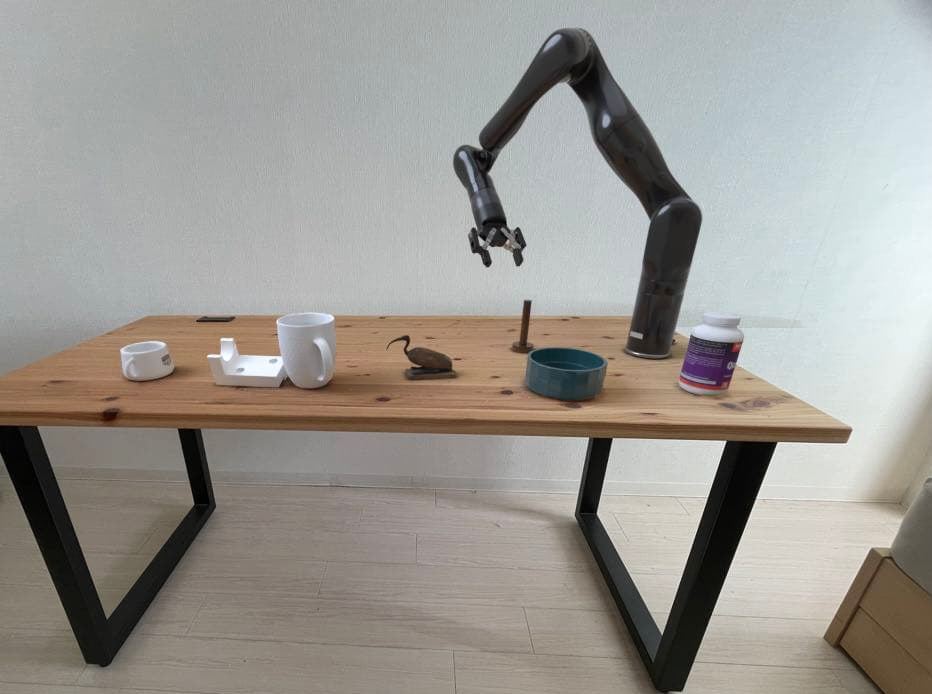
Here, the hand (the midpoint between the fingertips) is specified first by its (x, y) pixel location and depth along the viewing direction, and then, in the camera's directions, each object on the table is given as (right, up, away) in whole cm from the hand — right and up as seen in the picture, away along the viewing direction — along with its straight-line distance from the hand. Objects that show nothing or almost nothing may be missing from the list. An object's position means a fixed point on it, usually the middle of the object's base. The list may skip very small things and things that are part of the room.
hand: (504, 265), depth 112 cm
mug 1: (-80, -29, -16) cm, 86 cm away
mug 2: (-43, -31, -21) cm, 57 cm away
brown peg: (+4, -21, -2) cm, 22 cm away
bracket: (-56, -30, -19) cm, 67 cm away
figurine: (-22, -29, -17) cm, 40 cm away
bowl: (+5, -31, -24) cm, 40 cm away
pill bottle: (+31, -32, -26) cm, 52 cm away
